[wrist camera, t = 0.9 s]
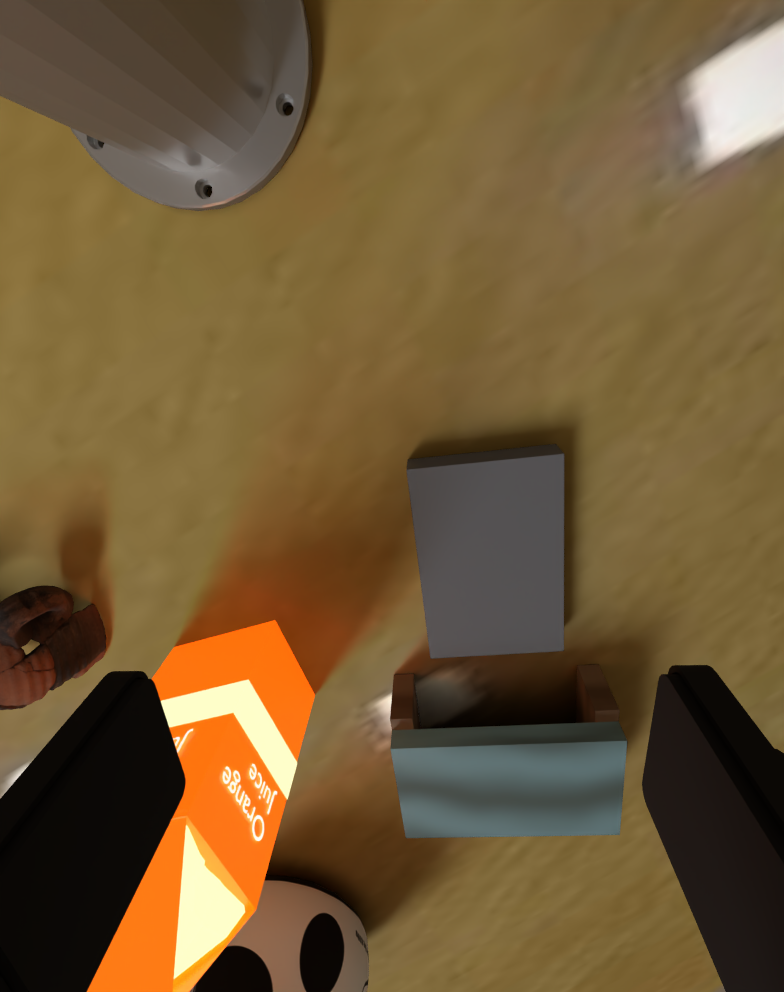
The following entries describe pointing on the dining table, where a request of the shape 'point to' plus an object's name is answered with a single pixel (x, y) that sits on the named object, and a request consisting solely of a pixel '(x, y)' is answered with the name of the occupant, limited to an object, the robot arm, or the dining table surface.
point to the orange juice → (214, 806)
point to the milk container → (293, 944)
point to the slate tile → (491, 550)
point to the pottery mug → (45, 643)
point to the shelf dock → (511, 770)
